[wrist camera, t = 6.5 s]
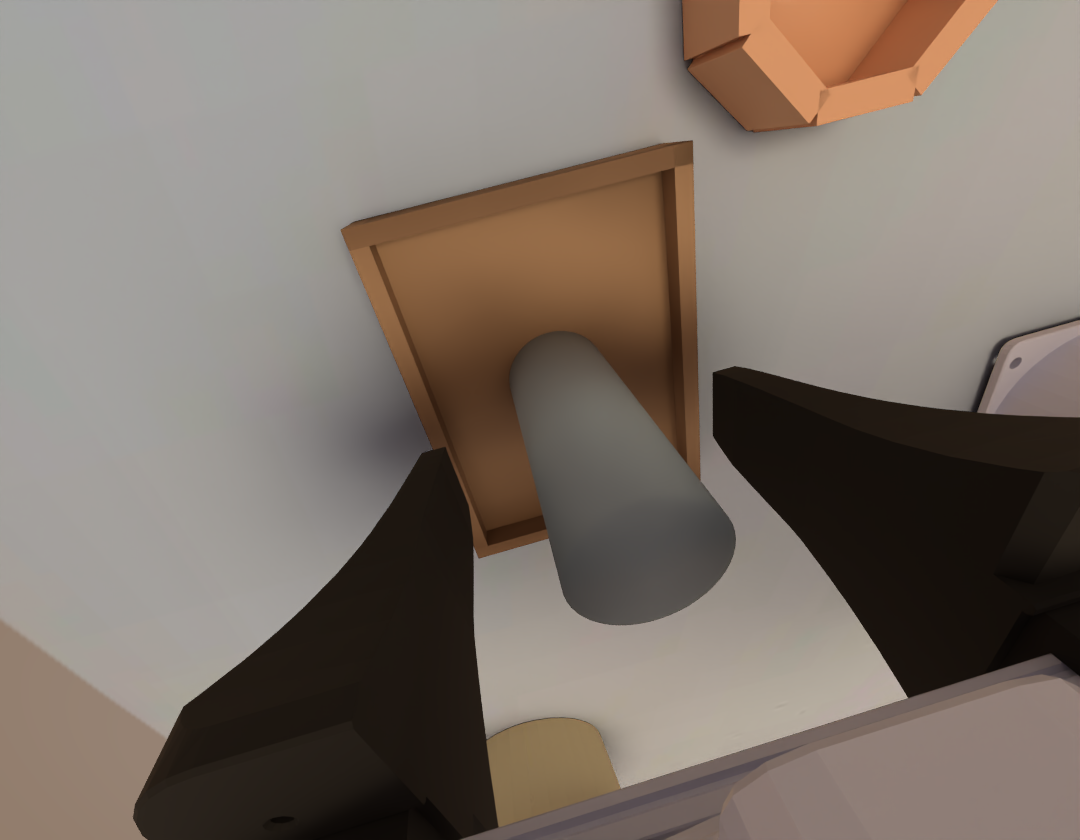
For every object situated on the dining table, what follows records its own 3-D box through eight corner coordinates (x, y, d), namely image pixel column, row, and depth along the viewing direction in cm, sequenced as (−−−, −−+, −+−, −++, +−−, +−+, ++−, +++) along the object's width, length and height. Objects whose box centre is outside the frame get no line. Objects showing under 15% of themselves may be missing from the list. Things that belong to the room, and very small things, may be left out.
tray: (680, 467, 19) (700, 494, 17) (476, 525, 18) (478, 558, 17) (663, 143, 13) (692, 140, 11) (354, 221, 12) (340, 230, 11)
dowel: (606, 409, 16) (727, 602, 9) (517, 427, 15) (569, 640, 8) (601, 322, 14) (745, 477, 7) (501, 341, 14) (551, 520, 7)
